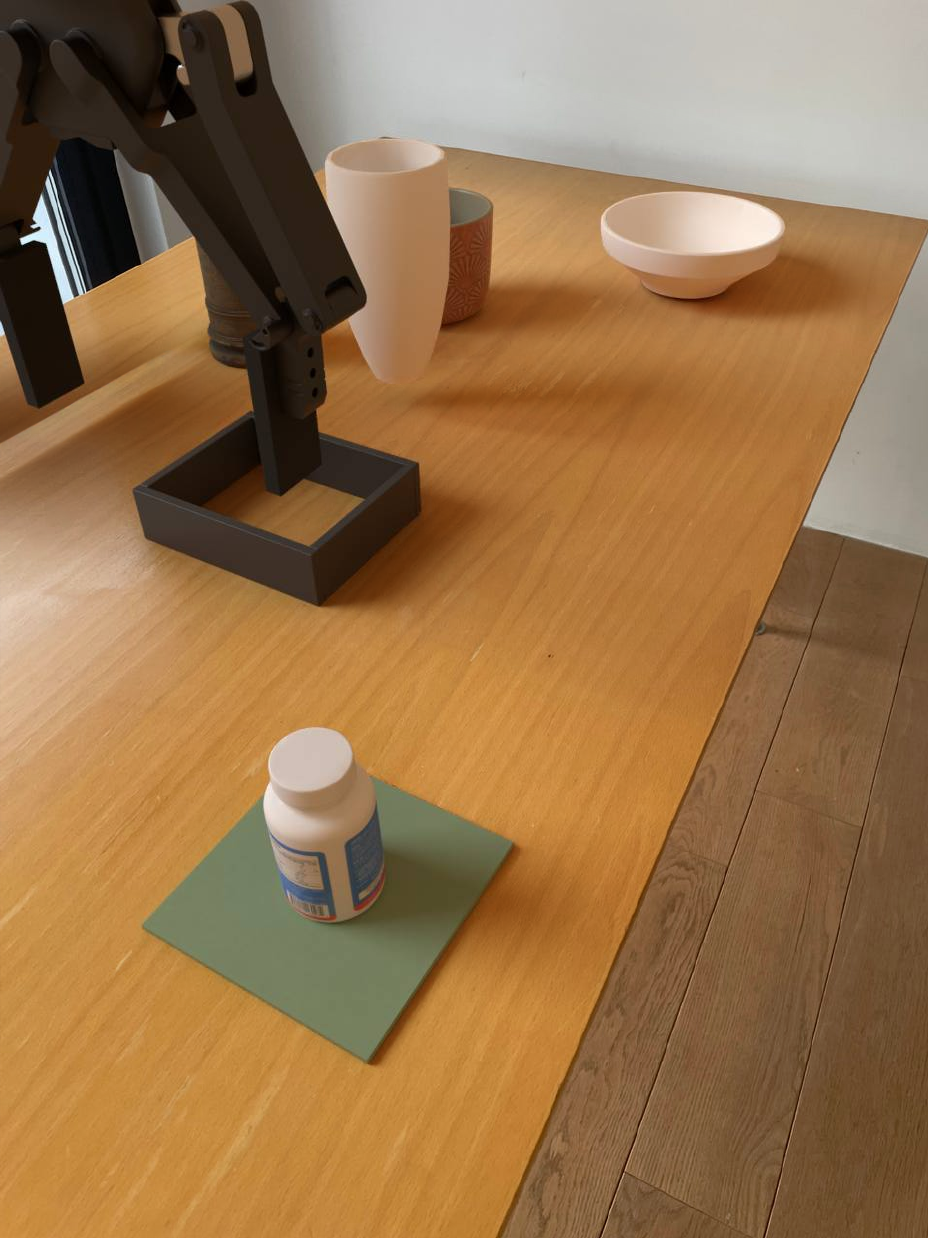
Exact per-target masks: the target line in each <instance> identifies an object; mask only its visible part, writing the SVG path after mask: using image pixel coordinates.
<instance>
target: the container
mask: <svg viewBox="0 0 928 1238" xmlns="http://www.w3.org/2000/svg"><path fill="white" fill-rule="evenodd" d="M194 240H195V246H196V251H197V256H198V260H199V266H200V271H201V276H202V281H203V288H204V294H205V298H204V304H205V308H206V310H207V315H208V320H209V323H208V327H207V335H208V337H209V340H208V348H209V351H210V353H211V355H212V357H213V358H214V359H215V360H216V361H217V362H219V363H221V364H223V365H226V366H228V367H235V368H243V369H247V367H246V360H245V354H244V348H243V341H242V337H244V336H245V335H247V334H249V333H250V332H252V331H254V330H255V329H257V328H258V327H257V325H256V324H255V322H254V321H253V320H252V318H251V317H250V315H249V314H248V313H247V311H246V310H245V308H244V307H243V305H242V304H241V303H240V301H239V300H238V298H237V297H236V296H235V294H234V293H233V291H232V290H231V288H230V287H229V286H228V284H227V283H226V281H225V280H224V279H223V277H222V276H221V274H220V273H219V271H218V270H217V269H216V267H215V266H214V264H213V263H212V262H211V260H210V259H209V257H208V256H207V254H206V253H205V252H204V250H203V249H202V247H201V246H200V245H199V243H198V242H197V240H196V239H195V238H194ZM276 295H277V297H278V299H279V300H280V299H282V298H284V297H285V295H284V294H283V292H282V291H281V289H280V288H279V287H277V288H276Z"/></svg>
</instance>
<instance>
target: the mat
mask: <svg viewBox="0 0 928 1238" xmlns="http://www.w3.org/2000/svg"><path fill="white" fill-rule="evenodd" d="M369 776H370V778H371V780H372V782H373V785H374V790H375V795H376V802H377V809H378V816H379V823H380V831H381V838H382V846H383V853H384V861H385V881H384V885H383V888H382V891H381V893H380V895H379V896H378V898H377V899H376V901H375V902H374V903H373V904H372V905H371V906H370V907H369V908H368V909H367V910H366V911H364V912H363V913H361V914H360V915H358V916H356V917H354V918H351V919H348V920H345V921H340V922H332V923H328V922H319V921H315V920H311V919H309V918H306V917H304V916H303V915H301V914H300V913H298V912H297V911H296V910H295V909H294V908H293V907H292V906H291V905H290V903H289V902H288V900H287V898H286V895H285V893H284V890H283V886H282V882H281V878H280V874H279V870H278V866H277V862H276V858H275V854H274V850H273V847H272V843H271V839H270V835H269V832H268V828H267V824H266V819H265V814H264V806H263V803H264V795H265V793H263V795H262V796H260V797H259V799H258V800H257V801H256V802H255V803H254V804H253V805H252V807H250V808H249V809H248V811H247V812H246V813H245V814H244V815H243V816H242V817H241V818H240V819H239V820H238V822H236V823H235V824H234V826H233V827H231V829H230V830H228V832H227V833H226V834H225V835H224V836H223V837H222V838H221V840H219V841H218V842H217V844H216V845H215V846H214V847H213V848H212V849H211V850H210V851H209V852H208V853H207V854H206V855H205V856H204V857H203V858H202V860H201V861H200V862H199V863H198V864H197V865H196V866H195V867H194V868H193V869H192V870H191V871H190V872H189V873H188V874H187V876H186V877H184V879H183V880H182V881H181V882H179V884H178V885H177V886H176V887H175V888H174V889H173V890H172V891H171V892H170V894H169V895H168V896H166V898H165V899H164V900H163V901H162V902H161V903H160V904H159V905H157V907H156V908H155V909H154V910H153V912H152V913H150V915H148V916H147V918H146V919H145V920H144V921H142V922H141V927H142V929H143V930H144V931H145V932H147V933H149V934H150V935H153V936H154V937H156V938H157V939H159V940H160V941H162V942H164V943H165V944H167V945H169V946H170V947H172V948H174V949H176V950H177V951H179V952H181V953H182V954H183V955H186V956H187V957H189V958H191V959H192V960H194V961H195V962H197V963H199V964H201V965H202V966H204V967H206V968H207V969H209V970H210V971H212V972H214V973H215V974H217V975H219V976H220V977H222V978H224V979H226V980H227V981H228V982H231V983H232V984H233V985H235V986H237V987H238V988H240V989H242V990H243V991H245V992H247V993H249V994H250V995H252V996H254V997H255V998H257V999H258V1000H261V1001H262V1002H264V1003H266V1004H267V1005H269V1006H270V1007H272V1008H273V1009H275V1010H277V1011H278V1012H280V1013H282V1014H284V1015H285V1016H287V1017H289V1018H290V1019H292V1020H294V1021H295V1022H297V1023H299V1024H300V1025H302V1026H304V1027H305V1028H307V1029H309V1030H310V1031H312V1032H314V1033H315V1034H317V1035H319V1036H320V1037H322V1038H323V1039H325V1040H326V1041H329V1042H330V1043H332V1044H333V1045H335V1046H337V1047H339V1048H340V1049H341V1050H343V1051H345V1052H347V1053H348V1054H350V1055H352V1056H353V1057H355V1058H357V1059H359V1061H361V1062H363V1063H364V1064H367V1065H369V1064H370V1062H371V1061H372V1060H373V1058H374V1056H375V1055H376V1054H377V1052H378V1050H379V1049H380V1047H381V1046H382V1044H383V1043H384V1041H385V1040H386V1039H387V1037H388V1035H389V1034H390V1033H391V1031H392V1029H393V1028H394V1026H395V1025H396V1024H397V1022H398V1021H399V1019H400V1018H401V1016H402V1015H403V1013H404V1012H405V1011H406V1009H407V1007H408V1006H409V1004H410V1003H411V1001H412V1000H413V998H414V996H415V995H416V994H417V992H418V991H419V989H420V988H421V986H422V985H423V983H424V982H425V980H426V979H427V977H428V976H429V975H430V973H431V972H432V970H433V968H434V967H435V965H436V964H437V962H438V961H439V959H441V958H440V957H441V956H442V955H443V954H444V952H445V951H446V949H447V947H448V946H449V944H450V943H451V942H452V940H453V939H454V937H455V936H456V934H457V933H458V930H459V929H460V928H461V926H462V925H463V924H464V922H465V921H466V919H467V918H468V916H469V914H470V913H471V912H472V910H473V908H474V907H475V906H476V904H477V903H478V901H479V900H480V898H481V896H482V895H483V893H484V892H485V891H486V890H487V887H488V886H489V885H490V883H491V882H492V880H493V879H494V877H495V876H496V874H497V873H498V871H499V870H500V868H501V867H502V865H503V864H504V863H505V861H506V860H507V858H508V856H509V855H510V854H511V852H512V850H513V849H514V848H515V841H513V840H510V839H508V838H506V837H504V836H501V835H499V834H497V833H496V832H493V831H490V830H488V829H487V828H484V827H482V826H480V825H478V824H476V823H474V822H471V821H469V820H467V819H465V818H463V817H460V816H458V815H457V814H454V813H452V812H450V811H447V810H446V809H443V808H442V807H440V806H437V805H435V804H432V803H430V802H429V801H426V800H423V799H422V798H420V797H417V796H416V795H413V794H411V793H408V792H407V791H404V790H403V789H400V788H398V787H395V786H394V785H392V784H390V783H388V782H385V781H383V780H381V779H379V778H376V777H375V776H373V775H370V774H369Z"/></svg>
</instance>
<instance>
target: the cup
mask: <svg viewBox="0 0 928 1238" xmlns="http://www.w3.org/2000/svg"><path fill="white" fill-rule="evenodd" d="M447 155H448V154H447V153H446V152H445V150H444V149H442V148H441V147H439V146H438V145H437V144H434V143H430V142H427V141H423V140H417V139H409V138H374V139H367V140H360V141H354V142H351V143H348V144H344V145H340V146H338V147H336V148H335V149H334V150H331V151H330V152H328V154H327V156H326V159H325V162H324V173H325V189H326V190H325V191H326V203H327V205H328V207H329V210H330V212H331V214H332V216H333V219H334V221H335V223H336V225H337V228H338V230H339V232H340V234H341V237H342V239H343V241H344V243H345V246H346V248H347V250H348V252H349V255H350V257H351V259H352V261H353V264H354V266H355V268H356V270H357V273H358V275H359V277H360V279H361V281H362V284H363V286H364V288H365V291H366V295H367V303H366V305H365V307H364V308H362V309H361V310H359V311H358V312H356V313H355V314H354V315H352V316H351V317H349V318H347V319H348V322H349V326H350V328H351V331H352V333H353V335H354V337H355V340H356V342H357V344H358V347H359V349H360V351H361V354H362V357H363V358H364V360H365V361H366V363H367V365H368V367H369V368H370V370H371V372H372V374H373V375H374V377H375V378H376V379H377V380H378V381H379V382H382V383H384V384H389V385H390V384H391V385H404V384H409V383H414V382H416V381H418V380H420V379H421V378H422V377H423V376H424V375H425V373H426V370H427V368H428V366H429V363H430V361H431V360H432V359H431V358H432V356H433V353H434V350H435V346H436V343H437V340H438V337H439V333H440V330H441V326H442V324H441V321H442V315H443V309H444V304H445V298H446V292H447V286H448V280H449V254H450V203H449V187H450V186H449V173H448V172H449V171H448V170H449V169H448V156H447Z"/></svg>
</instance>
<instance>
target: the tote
mask: <svg viewBox="0 0 928 1238" xmlns="http://www.w3.org/2000/svg"><path fill="white" fill-rule="evenodd" d="M319 440H320V449H321V458H322V465H321V466H320V467H318V468H317V469H316V470H314V471H313V472H312V473H311V474H309V475H308V476H307V477H305V478H304V479H305V480H308V481H311V482H314V483H316V484H319V485H322V486H325V487H328V488H332V489H334V490H338V491H341V492H344V493H347V494H350V495H353V496H356V497H359V498H362V499H363V500H362V501H360V503H359V504H357V506H355V507H354V508H353V509H352V510H351V511H349V512H347V514H346V515H345V516H344V517H342V518H341V519H340V520H339V521H337V522H336V523H335V524H334V525H333V526H332V527H330V528H329V529H328V530H327V531H326V532H324V533H323V534H322V535H321V536H320V537H319V538H317V539H315V541H314V542H313V543H312V544H311V545H306V544H303V543H300V542H298V541H295V540H293V539H290V538H287V537H285V536H282V535H279V534H276V533H273V532H270V531H268V530H265V529H263V528H259V527H257V526H254V525H251V524H249V523H246V522H243V521H241V520H237V519H235V518H232V517H230V516H227V515H223V514H222V513H218V512H216V511H213V510H210V509H207V508H205V507H202V506H203V505H204V504H206V503H207V502H209V501H211V500H212V499H213V498H214V497H216V496H217V495H218V494H220V493H221V492H222V491H224V490H225V489H226V488H228V487H229V486H231V485H232V484H234V483H235V482H237V480H239V479H240V478H242V477H243V476H244V475H246V474H247V473H249V472H250V471H252V470H253V469H254V468H256V467H257V466H259V465H262V462H261V456H260V449H259V443H258V437H257V430H256V424H255V418H254V411H253V410H249V411H248V412H246V413H245V414H244V415H242V416H240V417H239V418H237V419H236V420H235V421H233V422H231V423H230V424H228V425H227V426H225V427H224V428H222V429H221V430H219V431H218V432H216V433H214V435H212V436H210V437H209V438H207V439H206V440H204V441H203V442H201V443H200V444H197V446H195V447H194V448H192V449H190V450H189V451H188V452H186V453H185V454H183V455H182V456H180V457H179V458H177V459H176V460H174V461H172V462H171V463H169V464H168V465H167V466H165V467H164V468H162V469H161V470H159V471H158V472H156V473H154V474H153V475H152V476H150V477H148V478H147V479H146V480H144V481H143V482H141V483H140V484H137V485H136V486H134V487H133V488H132V490H131V491H132V494H133V499H134V502H135V505H136V509H137V513H138V517H139V520H140V525H141V528H142V533H143V536H144V538H145V539H146V540H148V541H151V542H153V543H155V544H158V545H160V546H163V547H167V548H169V549H171V550H174V551H176V552H178V553H182V554H184V555H186V556H188V557H189V556H190V557H191V558H194V559H197V560H199V561H202V562H204V563H207V564H209V565H212V566H214V567H217V568H220V569H222V570H225V571H227V572H229V573H232V574H235V575H237V576H240V577H242V578H245V579H247V580H250V581H253V582H255V583H258V584H260V585H263V586H266V587H268V588H271V589H273V590H275V591H279V592H281V593H283V594H286V595H289V596H290V597H293V598H296V599H298V600H300V601H304V602H306V603H309V604H311V605H313V606H316V607H320V606H321V605H322V604H323V603H324V602H325V600H327V599H328V598H329V597H330V596H331V595H332V594H334V593H335V592H336V591H337V590H338V589H339V588H341V586H342V585H343V584H345V583H346V581H348V580H349V579H350V578H351V577H353V575H354V574H355V573H357V571H358V570H360V569H361V568H362V567H363V566H364V565H365V564H366V563H368V561H369V560H370V559H371V558H373V557H374V556H375V555H376V554H377V553H378V552H379V551H380V550H382V548H383V547H385V546H386V545H387V544H388V543H389V542H390V541H391V540H392V539H393V538H394V537H396V536H397V535H398V534H399V533H400V532H401V531H403V529H404V528H405V527H406V526H407V525H409V523H410V522H411V521H412V520H414V519H415V518H416V516H418V515H419V514H420V513H421V512H422V493H421V477H420V476H421V473H420V472H421V471H420V462H418V461H415V460H411V459H408V458H405V457H401V456H399V455H395V454H392V453H390V452H387V451H386V452H385V451H383V450H379V449H376V448H372V447H369V446H366V445H362V444H360V443H357V442H354V441H349V440H347V439H343V438H339V437H337V436H334V435H331V434H327V433H324V432H321V431H319ZM304 479H303V480H304Z"/></svg>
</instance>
